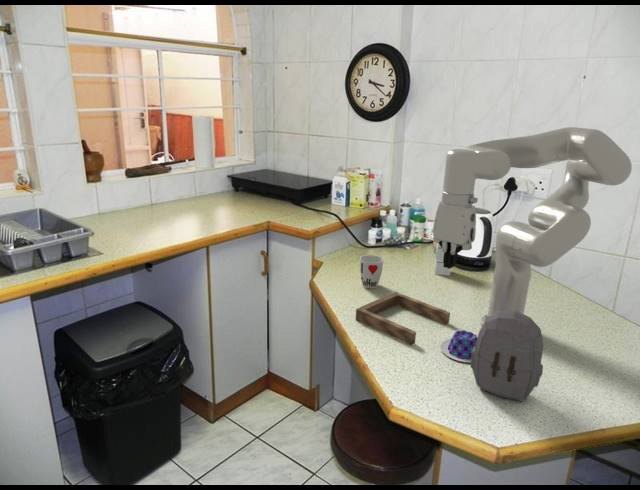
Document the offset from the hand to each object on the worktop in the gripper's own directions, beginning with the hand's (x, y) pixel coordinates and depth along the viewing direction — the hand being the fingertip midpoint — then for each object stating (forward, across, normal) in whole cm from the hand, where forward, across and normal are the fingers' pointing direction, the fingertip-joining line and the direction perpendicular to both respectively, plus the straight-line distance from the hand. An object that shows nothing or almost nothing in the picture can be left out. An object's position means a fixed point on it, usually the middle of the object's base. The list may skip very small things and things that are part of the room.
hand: (449, 266), depth 123 cm
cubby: (+21, +13, 0) cm, 25 cm away
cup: (+21, +37, -14) cm, 45 cm away
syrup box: (+21, +27, -45) cm, 56 cm away
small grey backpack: (+21, -23, +12) cm, 34 cm away
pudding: (+22, -8, +2) cm, 23 cm away
